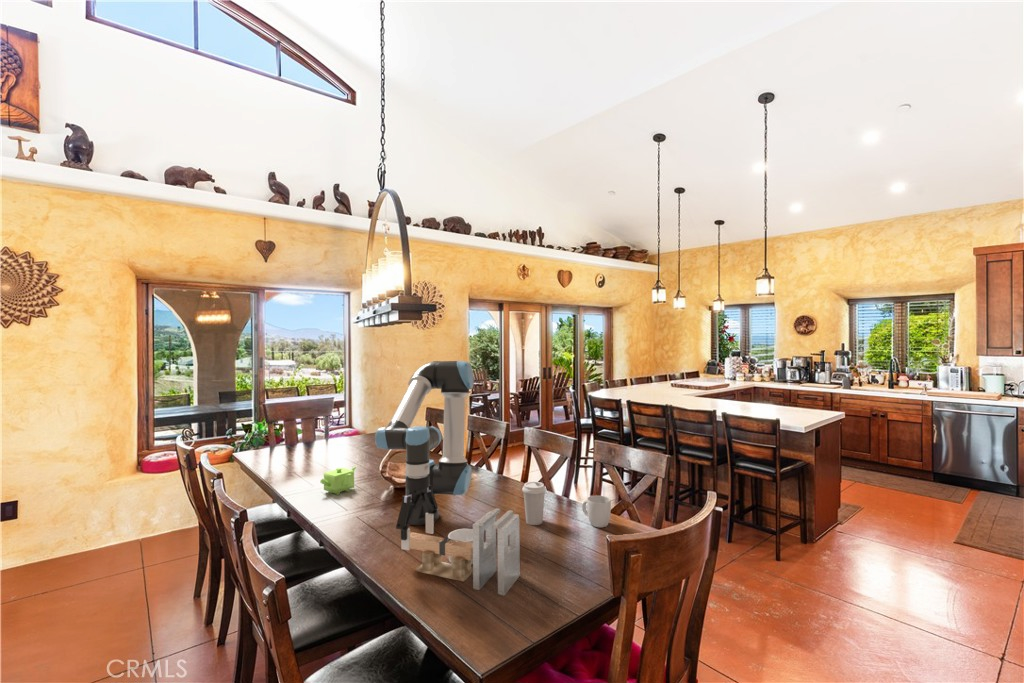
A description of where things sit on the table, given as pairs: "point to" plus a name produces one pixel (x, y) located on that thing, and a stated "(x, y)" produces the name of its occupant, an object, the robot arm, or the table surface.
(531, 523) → the coffee cup
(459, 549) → the block
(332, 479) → the green boxy piggy bank
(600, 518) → the mug
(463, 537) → the mug
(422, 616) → the table surface
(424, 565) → the rack
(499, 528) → the twin slotted uprights
